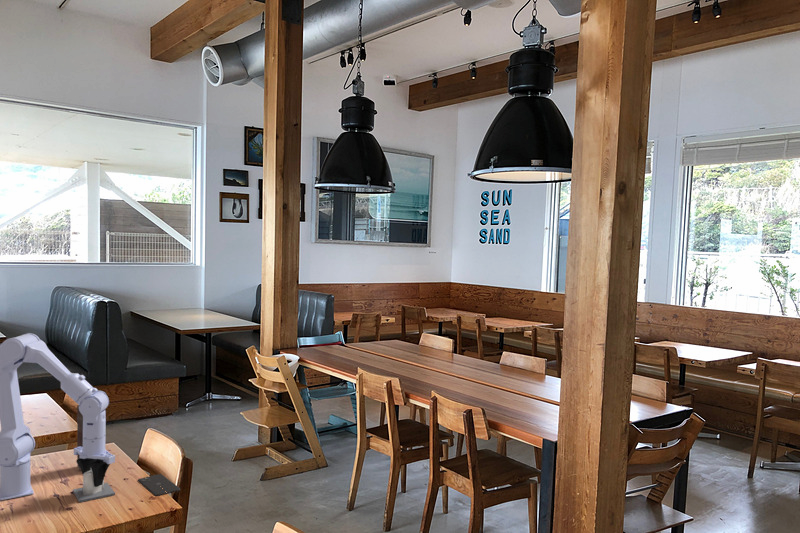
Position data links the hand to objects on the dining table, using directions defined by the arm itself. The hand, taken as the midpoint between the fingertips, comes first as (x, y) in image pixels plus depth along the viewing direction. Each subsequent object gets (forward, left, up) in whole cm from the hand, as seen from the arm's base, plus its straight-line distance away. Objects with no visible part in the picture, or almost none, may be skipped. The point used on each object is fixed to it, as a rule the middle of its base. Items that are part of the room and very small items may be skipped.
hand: (93, 484), depth 175 cm
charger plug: (0, 0, -2) cm, 2 cm away
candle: (-21, +4, -3) cm, 21 cm away
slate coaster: (0, 0, -3) cm, 3 cm away
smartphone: (+4, +17, -3) cm, 17 cm away
